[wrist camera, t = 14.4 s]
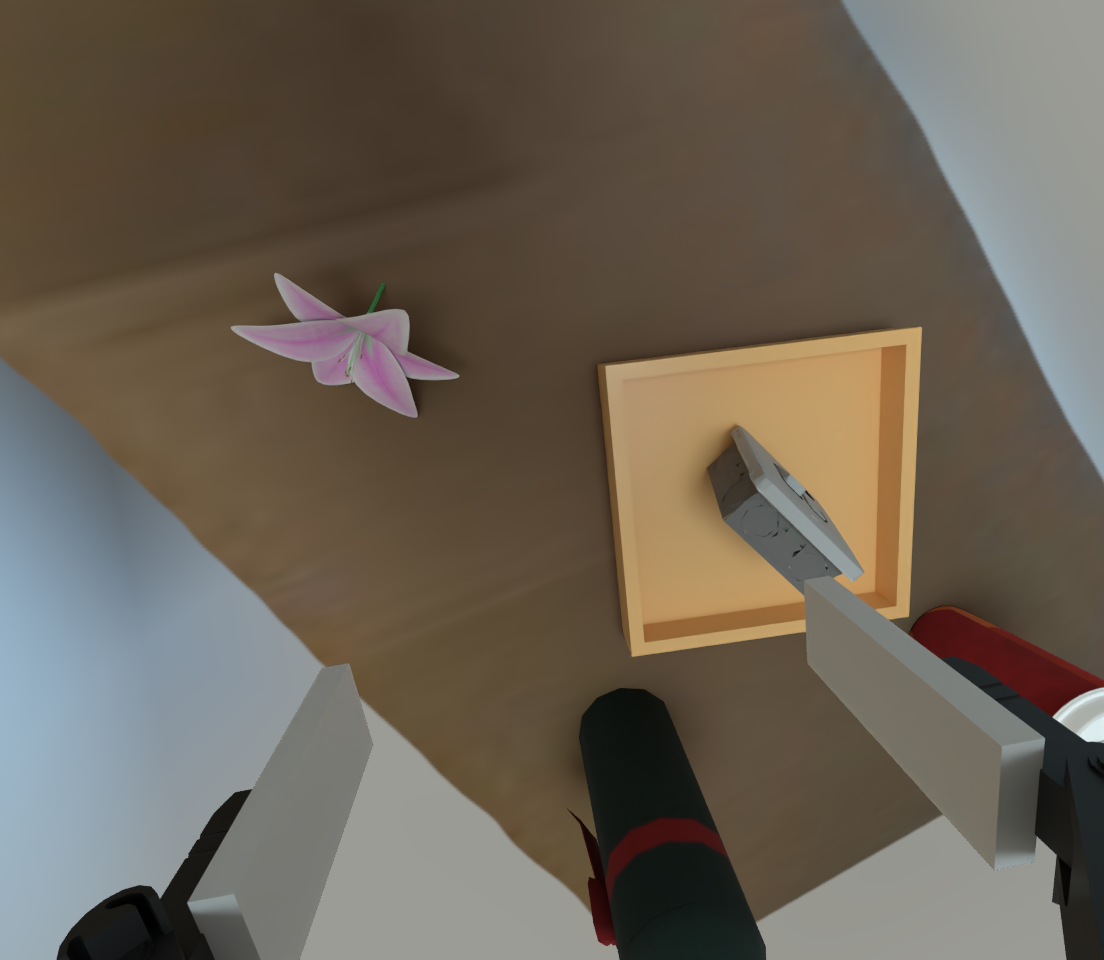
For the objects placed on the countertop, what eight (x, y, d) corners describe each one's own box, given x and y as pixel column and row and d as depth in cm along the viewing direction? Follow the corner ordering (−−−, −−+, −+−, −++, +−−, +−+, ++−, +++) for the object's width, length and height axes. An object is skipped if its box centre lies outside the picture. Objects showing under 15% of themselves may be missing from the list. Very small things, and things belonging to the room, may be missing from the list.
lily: (252, 306, 37) (188, 386, 30) (341, 164, 32) (287, 222, 25) (404, 404, 43) (380, 490, 36) (501, 300, 37) (495, 378, 30)
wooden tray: (597, 364, 39) (605, 365, 35) (886, 328, 39) (921, 326, 36) (622, 632, 44) (632, 656, 40) (878, 595, 45) (908, 616, 41)
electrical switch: (819, 504, 41) (892, 558, 32) (766, 550, 42) (823, 615, 34) (735, 420, 39) (789, 454, 30) (682, 471, 40) (719, 518, 32)
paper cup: (891, 680, 47) (1047, 818, 33) (900, 597, 45) (1069, 706, 31) (979, 672, 47) (1169, 805, 33) (992, 590, 45) (1198, 694, 32)
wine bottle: (537, 741, 46) (583, 1440, 16) (635, 669, 45) (866, 1276, 16) (595, 800, 47) (727, 1524, 18) (690, 732, 46) (990, 1381, 17)
